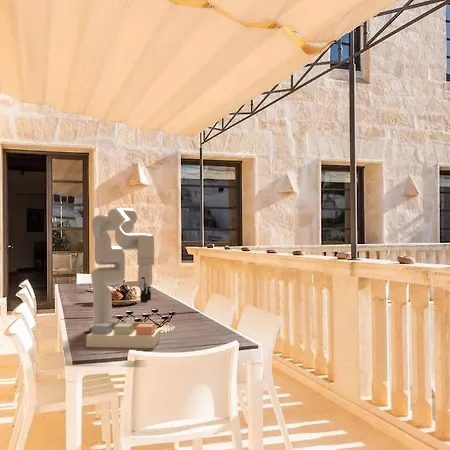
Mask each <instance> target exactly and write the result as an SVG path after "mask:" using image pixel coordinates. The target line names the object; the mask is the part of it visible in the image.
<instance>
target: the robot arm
mask: <svg viewBox="0 0 450 450" xmlns="http://www.w3.org/2000/svg"><path fill="white" fill-rule="evenodd" d="M137 215H138V214H137V212H136V211H135V210H134V209H133V208H130V207H129V208H128V207H127V208H124V207H117V208H116V207H115V208H112V209H110V210H109V211H108V213H107V214H98V215H95V216H94V217H93V218H92V221H91V229H92V234H93V238H94V250H93V251H94V256H93V257H94V262H95V264H97V265H100V267H97V268H94V269H93V270H92V271H91V276H90V277H91V278H90V279H91V283H92V303H93V304H92V307H93V308H92V309H93V311H92V312H93V313H92V314H93V315H92V321H93V322H92V324H91V325H89V327H90V330H92V326H93V325H95V324H97V323H108V322H113V315H112V314H113V312H112V311H113V310H112V309H113V305H112V303H113V300H112V298H113V297H112V296H113V295H112V292H111V290H110V288H109V287H108V286H113V285H114V286H115V285H121V284H123V283H124V281H125V275H126V265H125V264H126V254H125V251H131V250H133V251H136V250H137V251H136V254H137V260H136V262H137V263H136V264H137V265H138V270H137V287H138V288H140V293H139V294H140V295H139V296H140V303H145V304H146V303H148V302H149V301H152V295H151V294H152V292H151V291H152V289H151V286H152V285H153V266H154V265H155V236H154V235H153V234H150V233H149V234H148V233H135V232H134V233H132V231H134V227H135V226H134V225H135V224H136V222H137V220H138V216H137ZM109 232H114V240H115V242H116V245H117V246H112V237H111V235H110V234H109ZM124 250H125V251H124ZM105 265H106V266H107V265H109V266H107V267H106V266H105ZM110 265H113V266H110ZM101 266H105V267H101Z"/></svg>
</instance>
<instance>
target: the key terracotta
mask: <svg viewBox="0 0 450 450" xmlns="http://www.w3.org/2000/svg"><path fill="white" fill-rule="evenodd" d="M155 330H156V323H150V324H139V325H138V326H136V335H153V334H154V333H155Z"/></svg>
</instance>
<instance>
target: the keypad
mask: <svg viewBox="0 0 450 450" xmlns="http://www.w3.org/2000/svg"><path fill="white" fill-rule="evenodd" d="M108 323H112V332H110V333H109V334H92V331H91V332H90V333H88V334H87V335H86V340H85V341H86V342H85V343H86V344H85V345H86V347H87V348H89V347H90V348H129V349H130V348H135V349H137V348H139V349H141V348H143V349H146V348H147V349H154V348H155V347H156V346H157V344H158V343H159V342H160V331H161V330H160V329H155V333H154V334H153V335H136V326H138V325H139V324H151V322H149V321H146V322H145V321H112V322H108ZM118 323H129V324H133V333H131V334H130V335H125V334H114V326H115V325H117V324H118Z"/></svg>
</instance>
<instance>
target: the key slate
mask: <svg viewBox="0 0 450 450" xmlns="http://www.w3.org/2000/svg"><path fill="white" fill-rule="evenodd" d="M91 332H92V334H109V333H110V332H112V323H97V324H95V325H93V326H92V329H91Z"/></svg>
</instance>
